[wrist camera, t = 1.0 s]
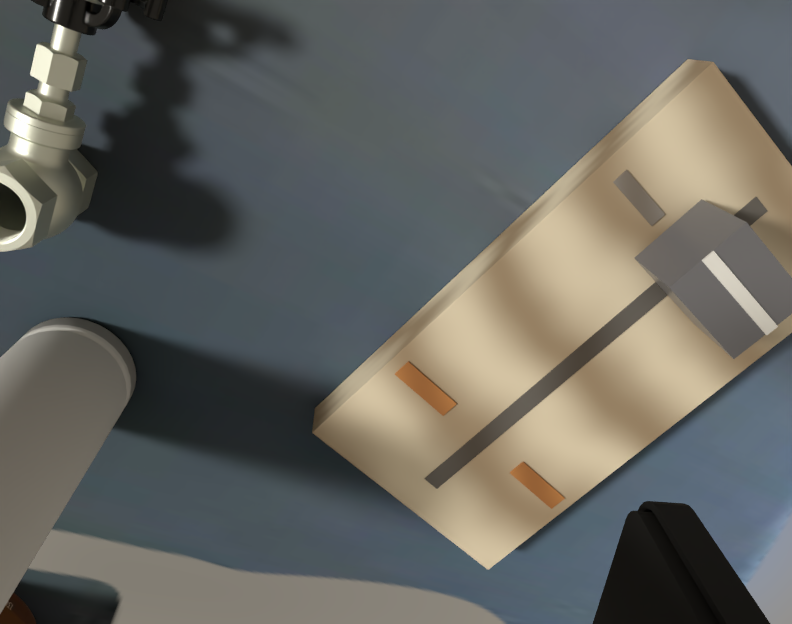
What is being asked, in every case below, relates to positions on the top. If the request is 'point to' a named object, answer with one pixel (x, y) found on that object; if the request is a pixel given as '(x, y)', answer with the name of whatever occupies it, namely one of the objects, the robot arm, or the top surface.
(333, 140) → the top surface
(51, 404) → the travel mug
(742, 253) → the fader cap
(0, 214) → the valve
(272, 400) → the top surface
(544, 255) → the fader panel
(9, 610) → the food container
